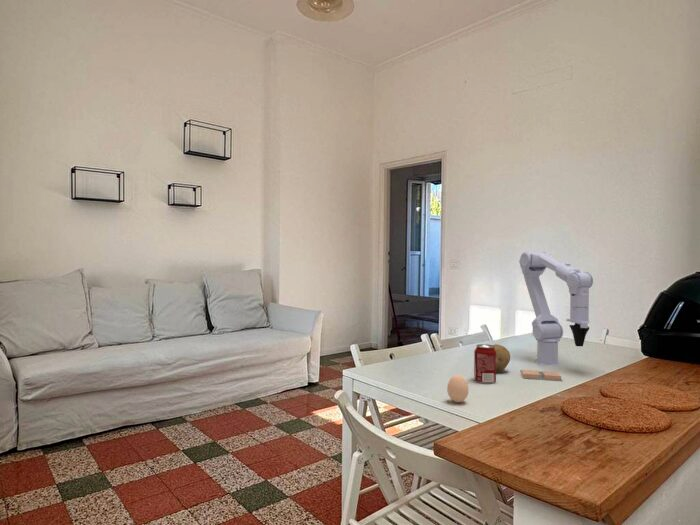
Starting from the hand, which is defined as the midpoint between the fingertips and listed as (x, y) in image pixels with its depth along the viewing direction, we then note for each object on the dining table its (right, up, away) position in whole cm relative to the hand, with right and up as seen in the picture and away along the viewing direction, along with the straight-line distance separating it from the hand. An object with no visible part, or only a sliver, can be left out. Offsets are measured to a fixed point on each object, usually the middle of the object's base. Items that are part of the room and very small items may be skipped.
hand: (579, 346), depth 159 cm
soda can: (-36, -10, -11) cm, 39 cm away
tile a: (-18, -9, -2) cm, 20 cm away
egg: (-50, -10, -31) cm, 60 cm away
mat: (-15, -10, -4) cm, 18 cm away
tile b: (-12, -9, -4) cm, 15 cm away
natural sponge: (-28, -10, +2) cm, 30 cm away
